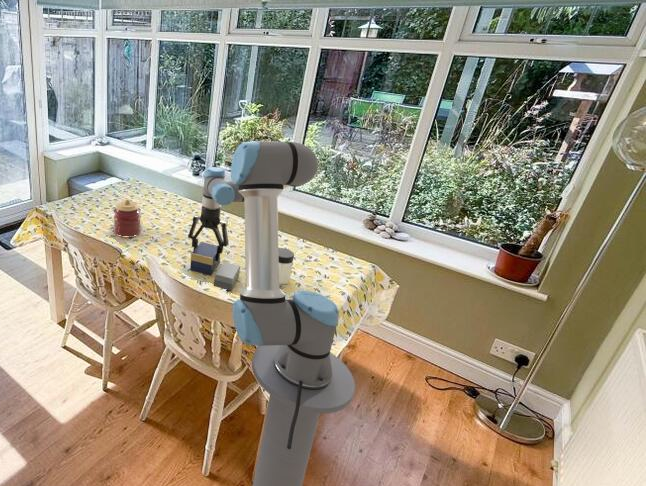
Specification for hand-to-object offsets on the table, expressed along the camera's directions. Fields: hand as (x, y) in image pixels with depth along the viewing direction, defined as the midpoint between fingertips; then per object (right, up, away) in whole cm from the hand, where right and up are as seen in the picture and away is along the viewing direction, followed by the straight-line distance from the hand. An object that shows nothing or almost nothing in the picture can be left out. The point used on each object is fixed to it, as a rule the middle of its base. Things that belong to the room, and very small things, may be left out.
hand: (206, 256), depth 170 cm
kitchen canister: (-34, +8, +30) cm, 46 cm away
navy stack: (0, -4, +1) cm, 5 cm away
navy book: (0, 0, 0) cm, 1 cm away
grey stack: (+7, -8, -9) cm, 14 cm away
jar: (+28, -8, -6) cm, 30 cm away
